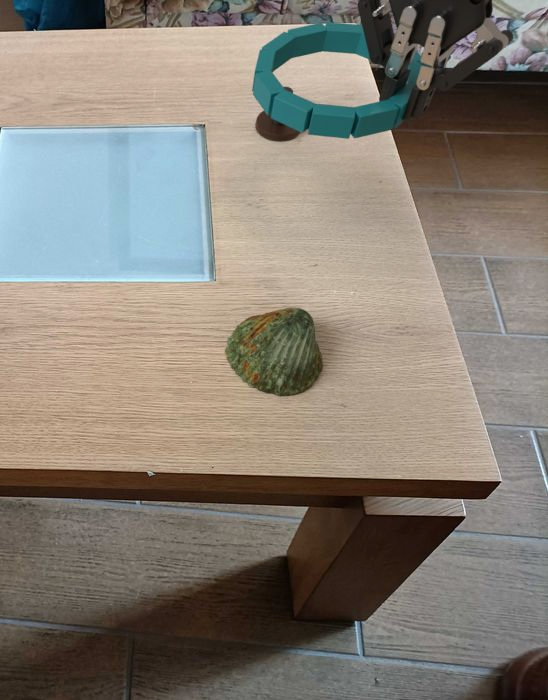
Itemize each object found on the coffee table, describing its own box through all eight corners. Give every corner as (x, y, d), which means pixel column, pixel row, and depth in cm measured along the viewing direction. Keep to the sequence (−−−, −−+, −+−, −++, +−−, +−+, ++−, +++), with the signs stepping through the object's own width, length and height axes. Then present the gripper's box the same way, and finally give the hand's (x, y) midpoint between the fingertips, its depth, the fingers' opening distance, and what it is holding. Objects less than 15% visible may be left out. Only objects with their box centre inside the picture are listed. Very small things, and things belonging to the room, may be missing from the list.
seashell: (212, 329, 67) (278, 276, 70) (206, 351, 70) (269, 299, 74) (291, 396, 63) (357, 336, 66) (281, 415, 66) (344, 357, 70)
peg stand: (296, 112, 92) (304, 75, 88) (304, 140, 89) (313, 103, 84) (252, 114, 92) (258, 78, 88) (258, 142, 89) (265, 106, 84)
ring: (369, 32, 74) (375, 10, 72) (451, 116, 64) (460, 94, 62) (230, 62, 72) (232, 41, 70) (293, 153, 63) (297, 131, 61)
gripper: (585, -82, 49) (488, 122, 63) (412, -124, 55) (359, 70, 69) (536, -41, 46) (445, 162, 60) (360, -91, 52) (315, 104, 67)
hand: (399, 112), depth 65 cm, fingers closed on ring, 1 cm apart
